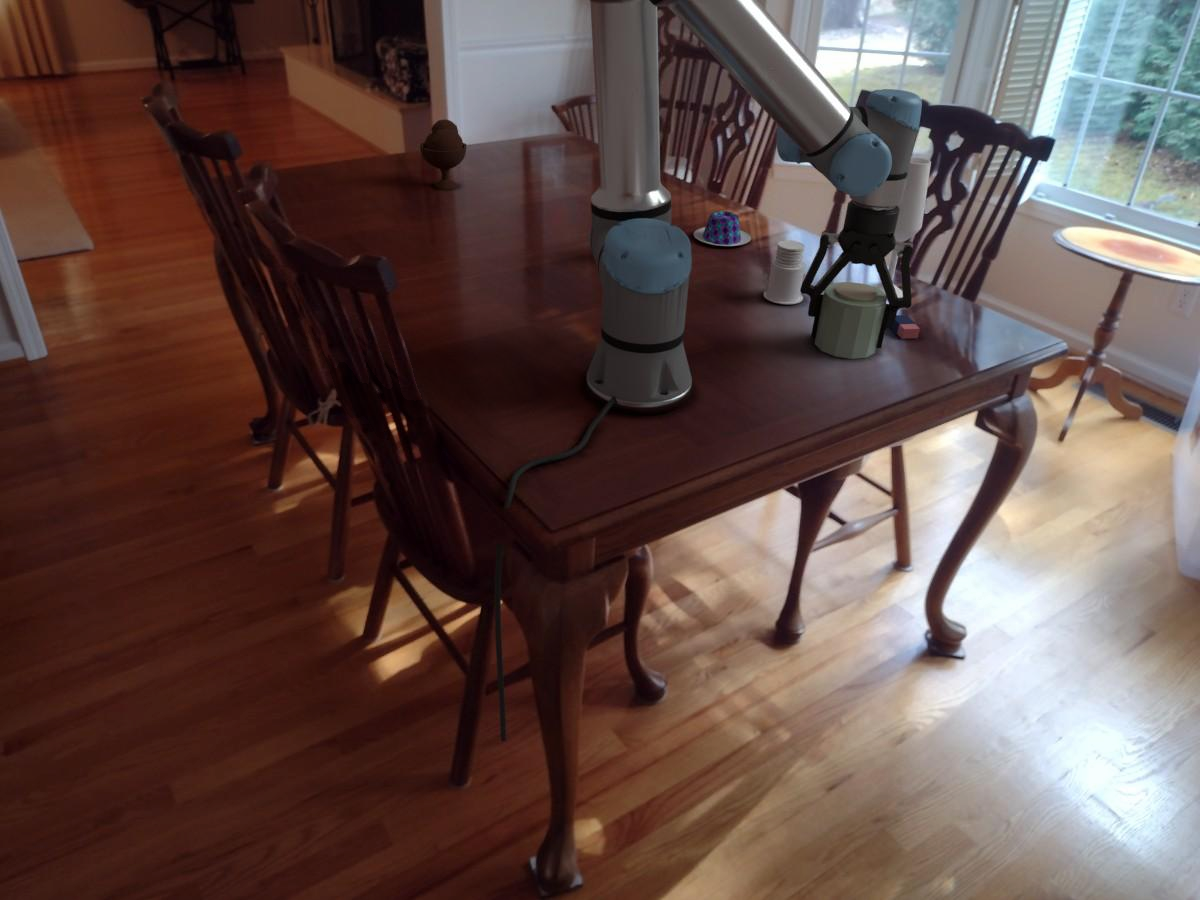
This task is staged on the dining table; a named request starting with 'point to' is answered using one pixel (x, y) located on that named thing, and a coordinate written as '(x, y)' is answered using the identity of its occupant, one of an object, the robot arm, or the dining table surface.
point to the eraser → (905, 327)
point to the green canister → (850, 320)
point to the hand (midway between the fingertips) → (846, 339)
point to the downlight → (786, 274)
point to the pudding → (722, 230)
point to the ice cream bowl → (444, 151)
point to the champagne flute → (910, 209)
